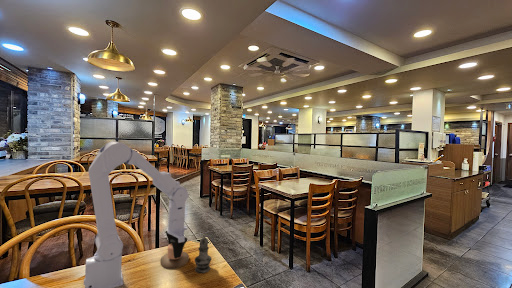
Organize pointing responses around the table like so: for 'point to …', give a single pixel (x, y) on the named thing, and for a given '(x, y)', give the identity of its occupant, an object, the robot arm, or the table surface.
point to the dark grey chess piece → (203, 257)
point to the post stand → (174, 261)
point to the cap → (171, 252)
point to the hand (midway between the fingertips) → (175, 253)
